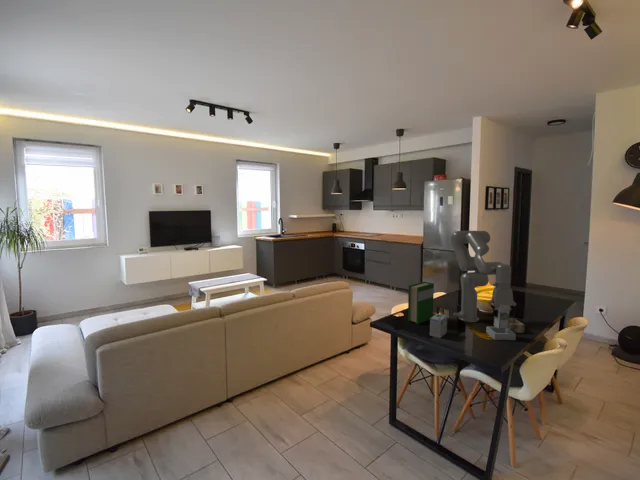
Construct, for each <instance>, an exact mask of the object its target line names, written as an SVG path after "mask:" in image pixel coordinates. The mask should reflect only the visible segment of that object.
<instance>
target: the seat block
mask: <svg viewBox="0 0 640 480" xmlns="http://www.w3.org/2000/svg"><path fill="white" fill-rule="evenodd" d="M485 331H486V332H485V333H486V334H488V336H490V337H491V338H492V339H493V340H494V341H516V340H517V333H514V332H512V331H511V330H510V329H499V328H497V327H495V326H486V330H485Z"/></svg>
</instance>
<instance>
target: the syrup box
mask: <svg viewBox="0 0 640 480" xmlns="http://www.w3.org/2000/svg"><path fill="white" fill-rule="evenodd" d="M509 311H510V306H508V305H500V306H498V307H497V317H495V316H494V315H493V327H497V328H499V329H508V328H509V318H510V317H509ZM510 312H511V311H510Z"/></svg>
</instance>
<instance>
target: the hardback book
mask: <svg viewBox="0 0 640 480" xmlns="http://www.w3.org/2000/svg"><path fill="white" fill-rule="evenodd" d="M434 287H435V284H434V283H433V282H427V281H422V282H418V283H414V284H410V285H408V295H407V297H408V299H407V300H408V301H407V305H408V306H407V307H408V308H407V322H408V321H410V322H414V323H416V325H419V324H422V323H425V322H427V321H430V318H431V317H433V316H434V292H435V291H434V290H435V289H434Z"/></svg>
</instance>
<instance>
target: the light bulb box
mask: <svg viewBox="0 0 640 480" xmlns="http://www.w3.org/2000/svg"><path fill="white" fill-rule="evenodd" d="M447 331H448V315H447V314H440V313H435V314H433V317H431V318H430V320H429V336H431V337H435V338H437V339H441V338H442V337H444V336H445V335H446V334H447Z"/></svg>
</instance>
